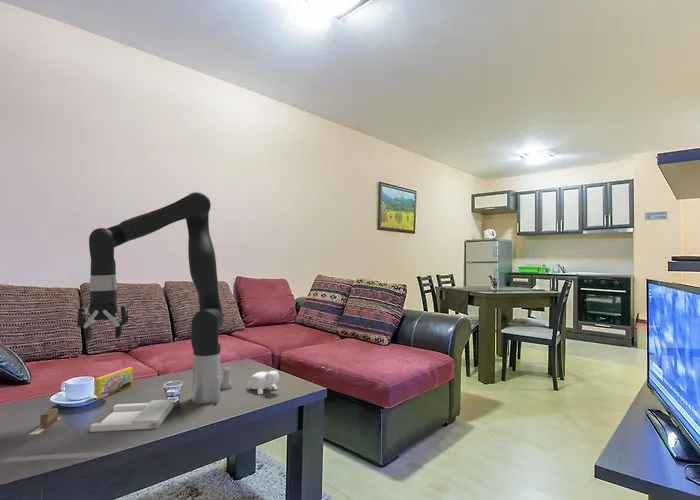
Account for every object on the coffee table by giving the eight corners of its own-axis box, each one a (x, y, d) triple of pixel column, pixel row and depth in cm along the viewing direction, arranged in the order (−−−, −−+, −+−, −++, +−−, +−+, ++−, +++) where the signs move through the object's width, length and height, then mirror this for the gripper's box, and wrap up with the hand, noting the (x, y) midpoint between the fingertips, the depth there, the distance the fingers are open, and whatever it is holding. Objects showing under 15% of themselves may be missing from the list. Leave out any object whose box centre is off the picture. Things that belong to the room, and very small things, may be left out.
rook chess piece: (225, 390, 149) (226, 369, 150) (217, 388, 152) (218, 367, 152) (234, 387, 153) (235, 367, 154) (227, 385, 156) (227, 365, 156)
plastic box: (173, 409, 129) (173, 399, 129) (157, 431, 112) (157, 419, 112) (115, 412, 126) (116, 401, 126) (89, 435, 109) (90, 423, 109)
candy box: (98, 402, 135) (99, 378, 135) (93, 402, 135) (93, 378, 135) (132, 388, 151) (133, 366, 151) (128, 387, 151) (129, 366, 151)
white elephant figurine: (247, 398, 149) (270, 392, 141) (242, 376, 152) (265, 369, 143) (264, 393, 156) (287, 386, 147) (260, 372, 158) (282, 364, 149)
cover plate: (101, 417, 123) (102, 402, 123) (82, 434, 111) (82, 417, 111) (53, 419, 121) (54, 404, 121) (28, 437, 109) (28, 420, 109)
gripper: (131, 287, 131) (131, 335, 130) (84, 289, 128) (84, 337, 128) (122, 289, 124) (122, 339, 123) (73, 290, 121) (73, 342, 120)
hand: (103, 338), depth 125 cm, fingers open, 8 cm apart
